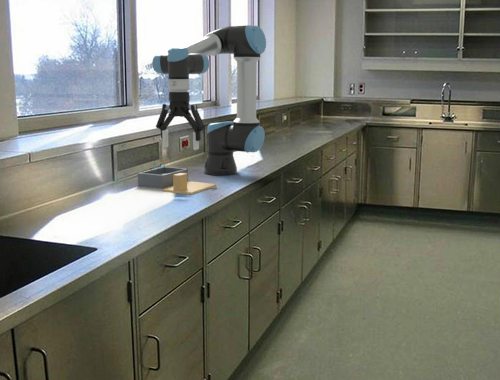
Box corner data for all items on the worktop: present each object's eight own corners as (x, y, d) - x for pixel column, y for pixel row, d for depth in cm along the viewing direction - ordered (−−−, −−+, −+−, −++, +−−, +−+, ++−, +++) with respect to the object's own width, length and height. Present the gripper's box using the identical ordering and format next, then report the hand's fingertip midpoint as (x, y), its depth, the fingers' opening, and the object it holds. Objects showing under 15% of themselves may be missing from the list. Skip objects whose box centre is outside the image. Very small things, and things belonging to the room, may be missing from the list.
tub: (164, 180, 248) (163, 166, 247) (188, 183, 243) (187, 168, 242) (138, 187, 233) (137, 173, 231) (163, 190, 227) (162, 175, 226)
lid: (189, 185, 239) (189, 166, 238) (216, 188, 234) (216, 169, 232) (162, 193, 223) (162, 173, 221) (191, 197, 217) (191, 176, 216)
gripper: (145, 90, 217) (147, 147, 222) (202, 92, 206) (204, 151, 211) (157, 89, 224) (159, 145, 228) (213, 91, 213) (214, 149, 217)
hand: (180, 148), depth 219 cm, fingers open, 13 cm apart
